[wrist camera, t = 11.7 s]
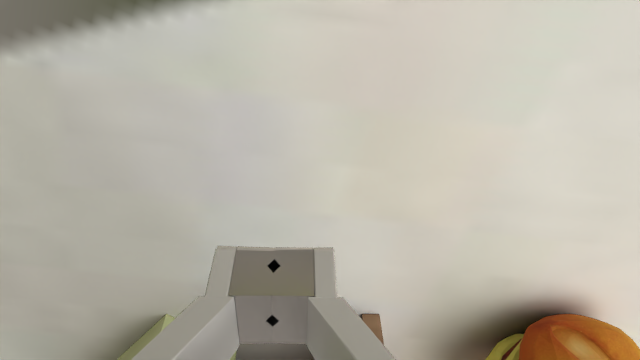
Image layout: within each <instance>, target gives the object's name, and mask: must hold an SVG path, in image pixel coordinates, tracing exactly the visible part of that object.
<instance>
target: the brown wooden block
mask: <svg viewBox="0 0 640 360" xmlns="http://www.w3.org/2000/svg"><path fill="white" fill-rule="evenodd" d="M362 320H363V321H364V323H365V324H366V325H367V326H368V327H369V329H370V330H371V331H372V332H373V333H374V334H375V336H376V337H377V338H378V339H379V340H380V341H381V343H382V344H383V345H384V342H383V336H382V329H381V322H380V316H379V314H362Z"/></svg>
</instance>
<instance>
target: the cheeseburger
mask: <svg viewBox="0 0 640 360" xmlns="http://www.w3.org/2000/svg"><path fill="white" fill-rule="evenodd" d="M485 360H640V349H639V347H638V346H637V345H636V343H635V342H634V341H633V339H631V338H630V337H629V336H628V335H627V334H625V333H624V332H623V331H622V330H621V329H619V328H617V327H615V326H612V325H610V324H608V323H605V322H602V321H599V320H596V319H593V318H590V317H586V316H582V315H575V314H557V315H552V316H547V317H544V318H542V319H540V320H539V321H537V322H535V323H533V324H531V325H529V326H528V327H527V329H526V331H525V333H524V334H514V335H511V336H509V337H507V338H505V339H503V340H502V341H500V342H498V344H497V345H496V346H495V347H494V348H493V350H492V351H491V353H490V354H489V356H488V357H487V358H486V359H485Z"/></svg>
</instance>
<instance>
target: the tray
mask: <svg viewBox="0 0 640 360" xmlns="http://www.w3.org/2000/svg"><path fill="white" fill-rule="evenodd" d="M174 319H175V318H174V317H172V316H170V315H168V314H166V315H165V316H164V317H163V318H162V319H160V320H159V321H158V322H157V323H156V324H155V325H154V326H153V327H152V328H151V329H150V330H148V331H147V332H146V333H145V334H144V335H143V336H142V337H141V338H140V339H139V340H138V341H136V342H135V343H134V344H133V345H132V346H131V347H130V348H129V349H128V350H127V351H126V352H124V353H123V354H122V355H121V356H120V357H119V358H118V359H117V360H131V359H132V358H133V357H134V356H136V355H137V354H138V353H139V352H140V351H141V350H142V349H143V348H144V347H145V346H146V345H147V344H148V343H149V342H150V341H152V340H153V339H154V338H155V337H156V336H157V335H158V334H159V333H160V332H161V331H162V330H163V329H164V328H165V327H167V326H168V325H169V324H170V323H171V322H172V321H173V320H174ZM236 351H237V350H236ZM235 357H236V352H235V353H234V354H233V356H232V357H231V358H230V360H235Z"/></svg>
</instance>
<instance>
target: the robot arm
mask: <svg viewBox="0 0 640 360" xmlns="http://www.w3.org/2000/svg"><path fill="white" fill-rule="evenodd" d="M259 343H283V344H307V347H308V349H309V351H310V352H311V354H312V356H313V357H314V359H315V360H396V359H395V358H394V357H393V356H392V354H391V353H390V352H389V351H388V350H387V348H386V347H385V346H384V345H383V344H382V343H381V341H380V340H379V339H378V338H377V337H376V336H375V334H374V333H373V332H372V331H371V330H370V329H369V327H368V326H367V325H366V324H365V323H364V321H363V320H362V319H361V318H360V317H359V316H358V314H357V313H356V312H355V311H354V310H353V309H352V307H351V306H350V305H349V304H348V303H347V302H346V300H345V299H344V298H343V297H337V285H336V270H335V255H334V249H333V248H314V249H313V248H296V247H276V248H269V247H242V246H238V247H231V246H218V247H217V249H216V250H215V254H214V258H213V263H212V267H211V271H210V276H209V280H208V284H207V288H206V293H205V296H199V297H198V298H196V299H195V300H194V301H193V302H192V303H191V304H190V305H189V306H188V307H187V308H186V309H185V310H184V311H183V312H181V313H180V314H179V315H178V316H177V317H176V318H175V319H174V320H173V321H172V322H171V323H170V324H169V325H168V326H167V327H165V328H164V329H163V330H162V331H161V332H160V333H159V334H158V335H157V336H156V337H155V338H154V339H153V340H152V341H150V342H149V343H148V344H147V345H146V346H145V347H144V348H143V349H142V350H141V351H140V352H139V353H138V354H137V355H136V356H134V357H133V358H132V359H131V360H230V358H231V357H232V356H233V354H234V353H235V352H236V350H237V349H238V347H239V346H240V345H239V344H259Z"/></svg>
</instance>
